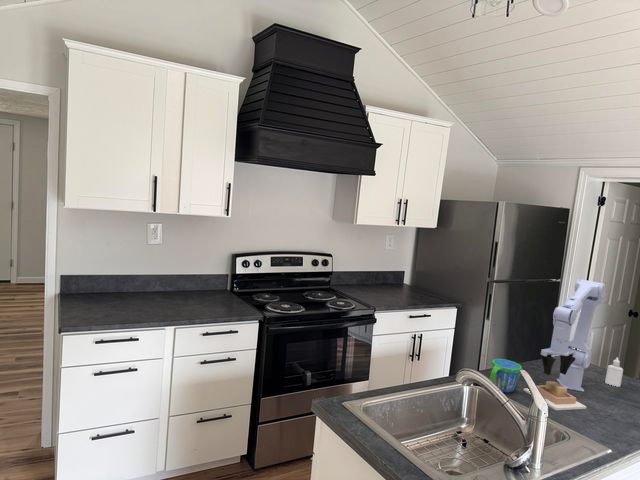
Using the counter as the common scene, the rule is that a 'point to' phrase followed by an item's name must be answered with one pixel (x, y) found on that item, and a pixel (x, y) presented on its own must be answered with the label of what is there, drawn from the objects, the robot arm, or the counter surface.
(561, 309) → the robot arm
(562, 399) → the tray
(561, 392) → the oak key block
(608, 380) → the eye dropper bottle
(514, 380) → the snack cup
